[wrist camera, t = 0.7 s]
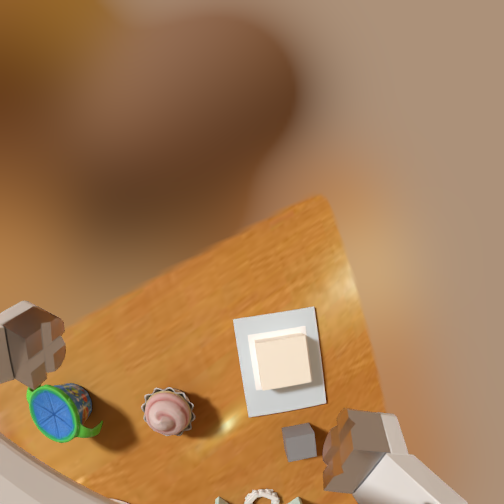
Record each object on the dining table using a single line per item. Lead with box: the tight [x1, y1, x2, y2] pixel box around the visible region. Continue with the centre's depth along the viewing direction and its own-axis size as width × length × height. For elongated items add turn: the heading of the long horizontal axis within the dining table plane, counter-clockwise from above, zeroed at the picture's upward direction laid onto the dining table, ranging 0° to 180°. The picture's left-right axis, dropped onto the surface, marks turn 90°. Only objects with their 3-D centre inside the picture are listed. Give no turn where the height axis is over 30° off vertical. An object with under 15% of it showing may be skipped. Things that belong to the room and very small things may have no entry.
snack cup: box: [27, 383, 103, 443], centre depth 46 cm, size 16×10×10 cm
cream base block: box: [254, 332, 311, 391], centre depth 52 cm, size 8×8×4 cm
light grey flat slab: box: [233, 307, 326, 417], centre depth 54 cm, size 18×14×1 cm
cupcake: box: [141, 387, 196, 436], centre depth 47 cm, size 9×9×10 cm
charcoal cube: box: [282, 423, 317, 462], centre depth 50 cm, size 5×5×5 cm
